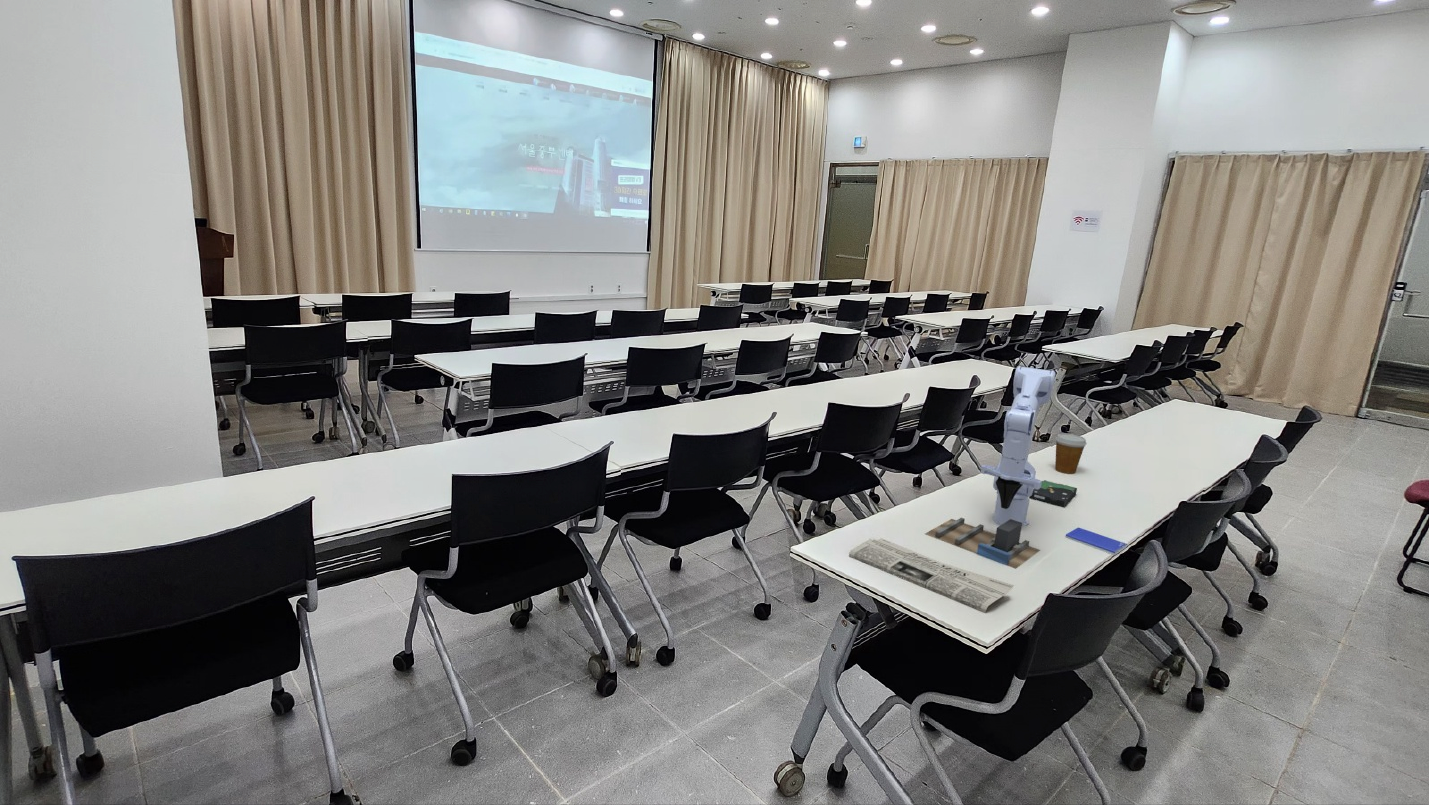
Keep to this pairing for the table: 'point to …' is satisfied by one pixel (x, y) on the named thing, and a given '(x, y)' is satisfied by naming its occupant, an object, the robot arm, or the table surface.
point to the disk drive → (1054, 493)
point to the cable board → (981, 542)
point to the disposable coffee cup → (1068, 452)
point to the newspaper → (932, 573)
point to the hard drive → (1096, 541)
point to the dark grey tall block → (1008, 535)
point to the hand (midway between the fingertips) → (1005, 507)
